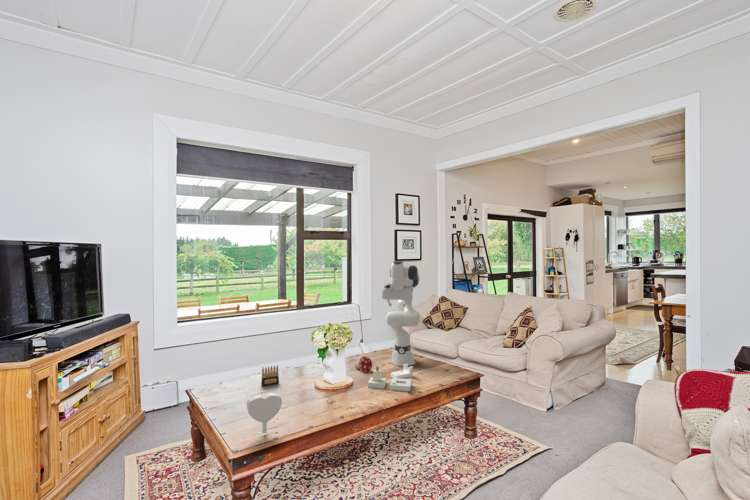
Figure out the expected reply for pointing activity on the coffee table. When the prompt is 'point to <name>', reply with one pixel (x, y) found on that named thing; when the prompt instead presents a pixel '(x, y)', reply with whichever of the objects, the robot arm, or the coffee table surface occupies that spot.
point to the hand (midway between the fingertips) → (397, 306)
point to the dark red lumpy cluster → (364, 364)
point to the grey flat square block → (376, 383)
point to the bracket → (403, 372)
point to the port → (401, 384)
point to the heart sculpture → (264, 408)
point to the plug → (377, 375)
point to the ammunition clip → (270, 376)
